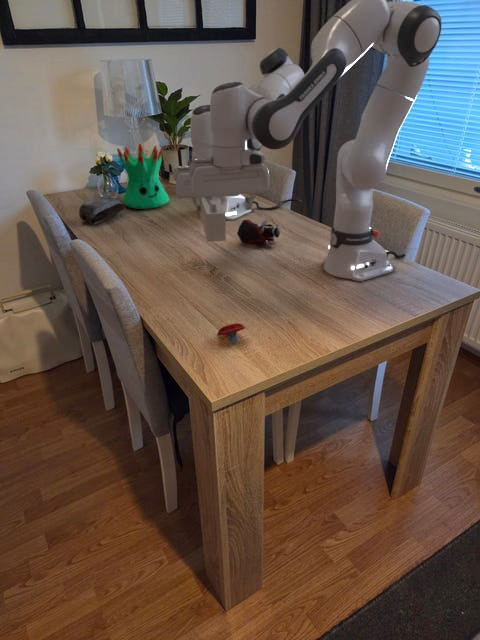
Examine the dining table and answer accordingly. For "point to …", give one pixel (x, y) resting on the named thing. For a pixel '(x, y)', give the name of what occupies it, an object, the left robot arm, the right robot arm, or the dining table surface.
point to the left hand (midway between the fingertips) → (208, 210)
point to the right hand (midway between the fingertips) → (230, 210)
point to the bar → (213, 219)
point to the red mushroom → (231, 331)
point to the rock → (100, 209)
